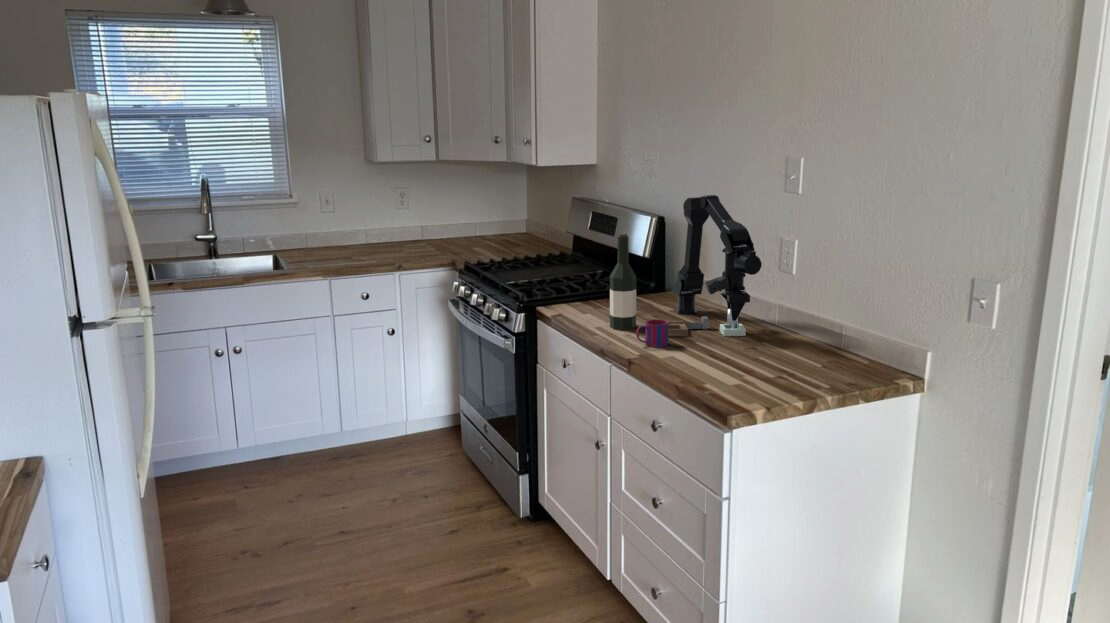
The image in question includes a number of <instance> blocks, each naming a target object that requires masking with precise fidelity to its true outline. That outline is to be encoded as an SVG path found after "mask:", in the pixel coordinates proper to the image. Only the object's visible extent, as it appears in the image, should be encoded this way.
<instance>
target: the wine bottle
mask: <svg viewBox="0 0 1110 623" xmlns="http://www.w3.org/2000/svg"><path fill="white" fill-rule="evenodd" d="M609 328H611V329H612V328H613V329H612V330H614V329H616V331H630V330H632V331H633V330H634V329H636V328H637V274H636V273H635V271H634V269H633V268H632V266H631V265H630V263H629V236H628V233H623V232H622V233H619V234H618V236H617V263H616V265H615V266H614V268H613V269H612V271H611V273H610V275H609Z"/></svg>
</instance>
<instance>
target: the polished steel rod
mask: <svg viewBox="0 0 1110 623" xmlns="http://www.w3.org/2000/svg"><path fill="white" fill-rule="evenodd" d="M726 310H727V311H726V312H727V313H726V315H727V317H726V318H727V319H726V320H727V321H726V324H727V329H738V324H739V317H738V318H737V320H736V321H733V320H732V315H731V308H728V307H727V309H726Z"/></svg>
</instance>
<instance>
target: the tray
mask: <svg viewBox="0 0 1110 623" xmlns="http://www.w3.org/2000/svg"><path fill="white" fill-rule="evenodd" d="M746 331H747V330H746V328H745V327H744V325H743V324H742V323H738V329H727V323H719V332H720V333H721V335H722V336H723V337H745V336H746V335H747V334H746Z"/></svg>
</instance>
